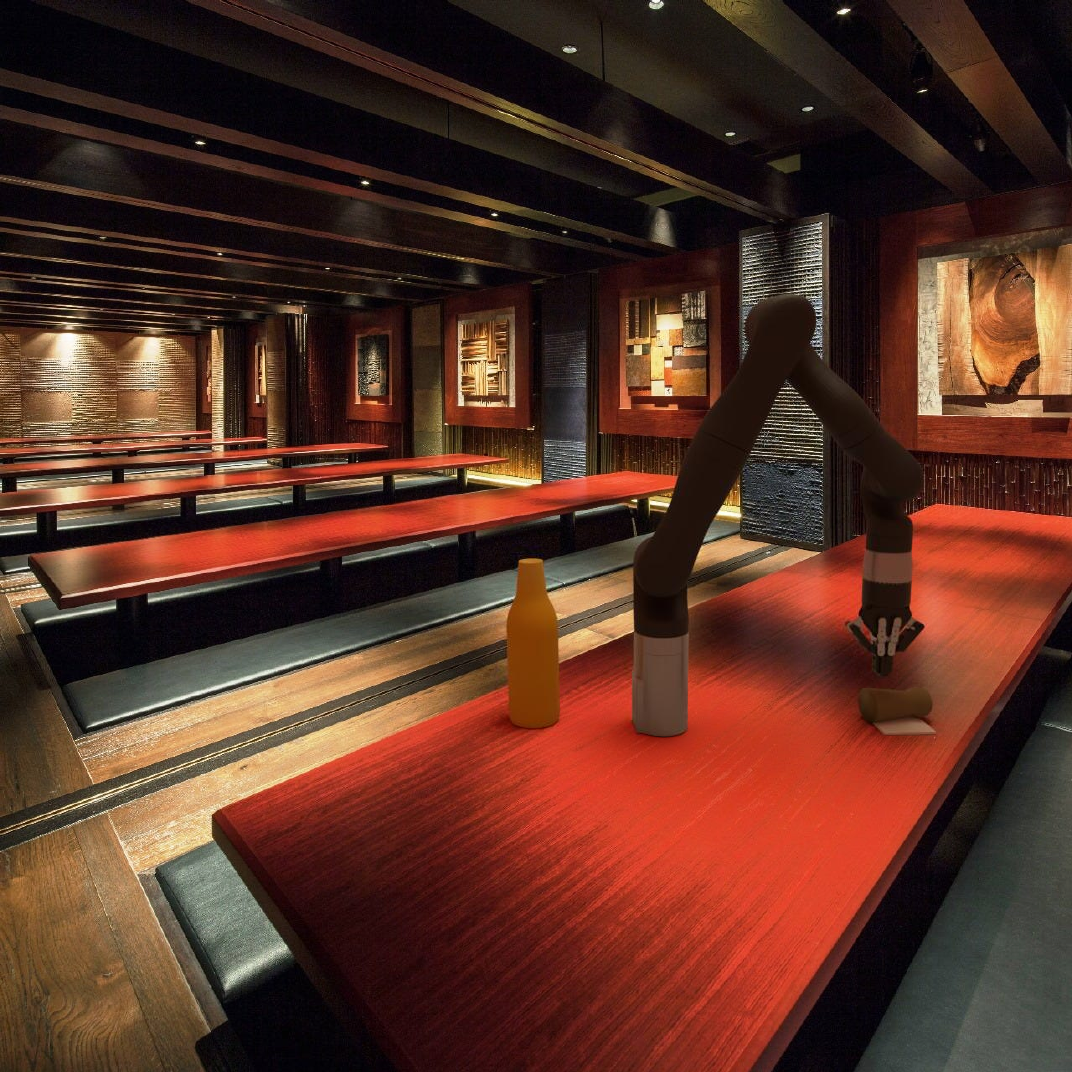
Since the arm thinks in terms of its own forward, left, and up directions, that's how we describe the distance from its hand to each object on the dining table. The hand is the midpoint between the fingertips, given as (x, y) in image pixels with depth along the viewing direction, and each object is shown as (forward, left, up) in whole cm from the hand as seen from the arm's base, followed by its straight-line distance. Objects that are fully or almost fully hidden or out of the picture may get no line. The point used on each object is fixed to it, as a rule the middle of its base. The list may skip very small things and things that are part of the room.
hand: (881, 674), depth 128 cm
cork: (-2, 0, -6) cm, 6 cm away
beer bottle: (-60, +4, -9) cm, 61 cm away
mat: (+3, 0, -9) cm, 9 cm away
